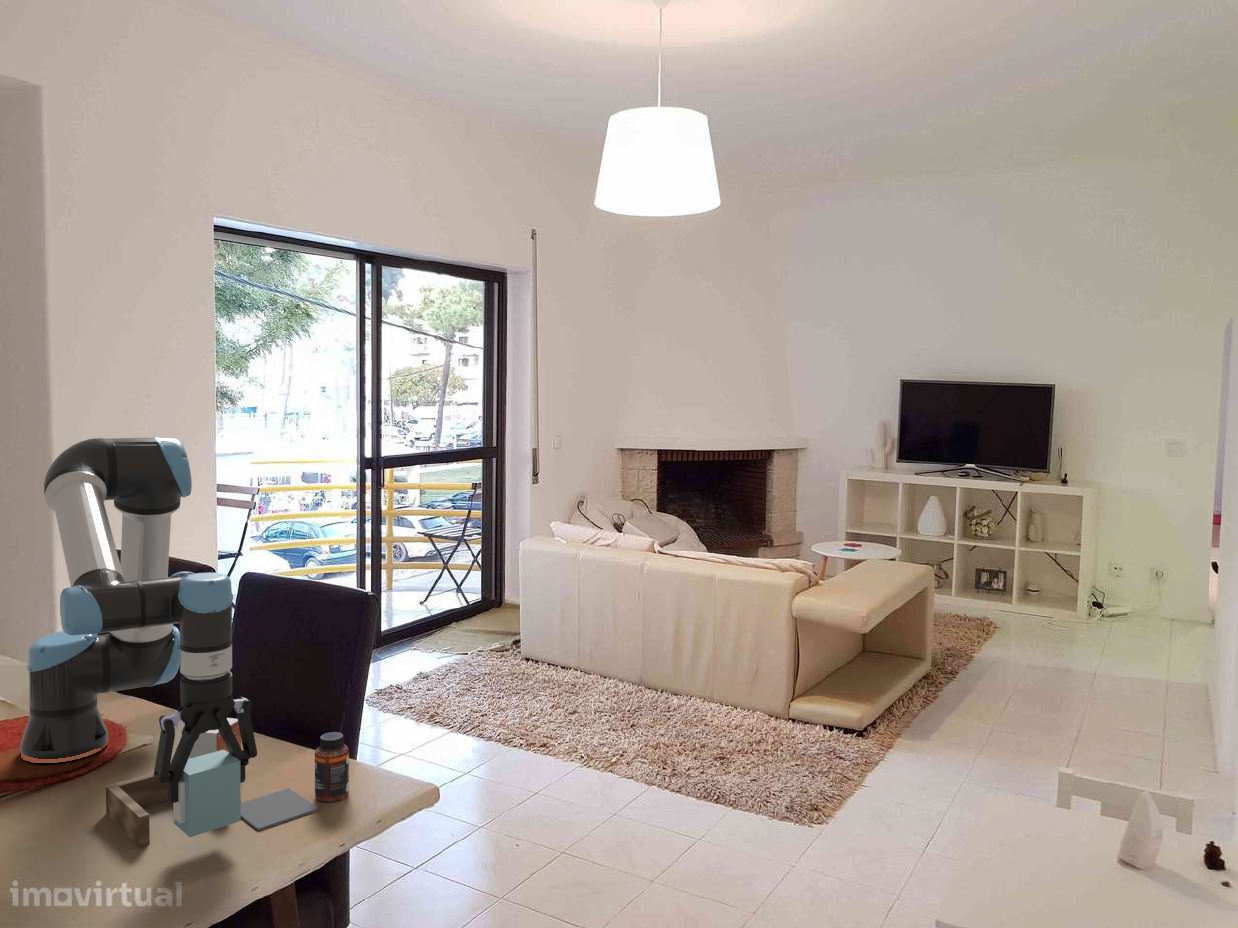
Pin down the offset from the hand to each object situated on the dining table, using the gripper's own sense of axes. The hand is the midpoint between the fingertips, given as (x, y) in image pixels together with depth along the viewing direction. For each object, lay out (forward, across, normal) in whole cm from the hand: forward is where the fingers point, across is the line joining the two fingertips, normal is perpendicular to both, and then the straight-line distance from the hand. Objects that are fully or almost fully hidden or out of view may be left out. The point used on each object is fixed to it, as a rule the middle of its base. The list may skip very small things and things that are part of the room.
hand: (207, 810), depth 149 cm
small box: (+7, +12, +25) cm, 28 cm away
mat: (+6, +14, +6) cm, 16 cm away
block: (+2, 0, 0) cm, 2 cm away
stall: (+6, 0, +15) cm, 17 cm away
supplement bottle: (+7, +24, +4) cm, 25 cm away
